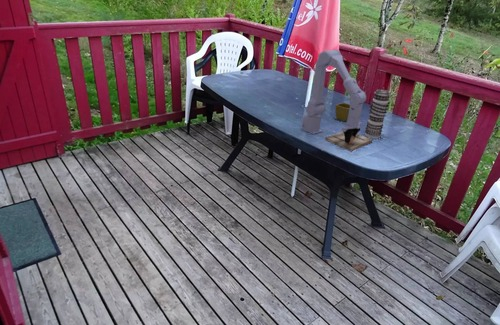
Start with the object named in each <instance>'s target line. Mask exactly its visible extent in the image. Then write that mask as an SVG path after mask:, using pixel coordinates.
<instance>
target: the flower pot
mask: <svg viewBox="0 0 500 325" xmlns="http://www.w3.org/2000/svg"><path fill="white" fill-rule="evenodd" d="M349 109H350V103H345V102H341V103H337V104H335V110H334V111H335V112H334V113H335V116H336V120H338V121H341V122H347V119H348V114H349Z"/></svg>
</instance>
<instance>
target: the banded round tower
mask: <svg viewBox="0 0 500 325" xmlns="http://www.w3.org/2000/svg"><path fill="white" fill-rule="evenodd" d="M373 92H374V95H373V98H372V100H371V102H370V106H369V107H370V108H369V113H368V114H369V117H368V120H367V121H366V127H365V129H364V136H365V137H367V138H371V139H372V138H373V139H379V138H381V135H382V132H383V127H384V122H385V121H384V119H385V117H386V114H387V111H388V107H389V105H390V101H389V100H390V99H389V98H390V96H391V94H390V93H389V92H390V91H388V89H387V90H386V89H383V88H382V89H376V91H373Z"/></svg>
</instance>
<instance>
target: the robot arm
mask: <svg viewBox="0 0 500 325" xmlns="http://www.w3.org/2000/svg"><path fill="white" fill-rule="evenodd" d="M343 59H344V56H343V55H342V54H341V51H340V50H339V49H335V48H334V49H330V50H323V51H321V52H320V53H318V58H317V60H316V62H315V66H314V74H313V77H314V78H313V85H312V92H311V93H312V95H311V96H312V97H311V98H310V99H309V100H308V101H307V105H306V107H305V113H304V115H303V116H302V122H301V127H300V130H303V131H304V132H308V133H310V134H311V135H315V134H317V133H321V132H322V133H323V129H321V128H320V127H321V122H322V116H323V113H325V111H326V104H325V103H326V100H324V96H323V95H324V88H325V80H326V73H327V72H326V71H327V70H326V69H327V68H328V67H332V68H335V70H336V71H337V72H338V74H339V75H340V77H341V79H342V80H343V83H342V84H343V86H344V87H343V88H344V89H345V90H346V92H347V94H348V101H349V104H350V109H349V114H348V119H347V121H346V123H345V124H344V125H343V126H342V127H341V132H344V136H345V142H346V143H349V142H350V139H351V136H352V135H353V136H354V138H355V136H356V135H357V134H359V131H361V127H362V126H363V122H362V121H360V119H361V114H362V109H363V105H364V103H365V102H366V100H367V93H366V92H365V91H363V90H362V89H361V88H360V87H359V84H358V83H357V82H358V81H357V79H355V78H354V77H351V75H350V73H349V71H348V68H347V67H346V65H345V62H344V60H343Z"/></svg>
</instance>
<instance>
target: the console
mask: <svg viewBox="0 0 500 325" xmlns="http://www.w3.org/2000/svg"><path fill="white" fill-rule="evenodd" d="M325 141H327V142H329V143H331V144H333V145H336V146H338V147H340V148H343V149H345V150H347V151H350V152H353V151H354V150H357V149H360V148H362V147H364V146H367V145H369V144H372V143H373V139H372V138H371V137H368V136H365V135H362V134H359V133H357V135H356V136H355V138H354V140H353V143H350V144H349V143H346V142H345V136H344V132H343V131H340V132H338V133H335V134H331V135H329V136H327V137H325Z"/></svg>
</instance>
